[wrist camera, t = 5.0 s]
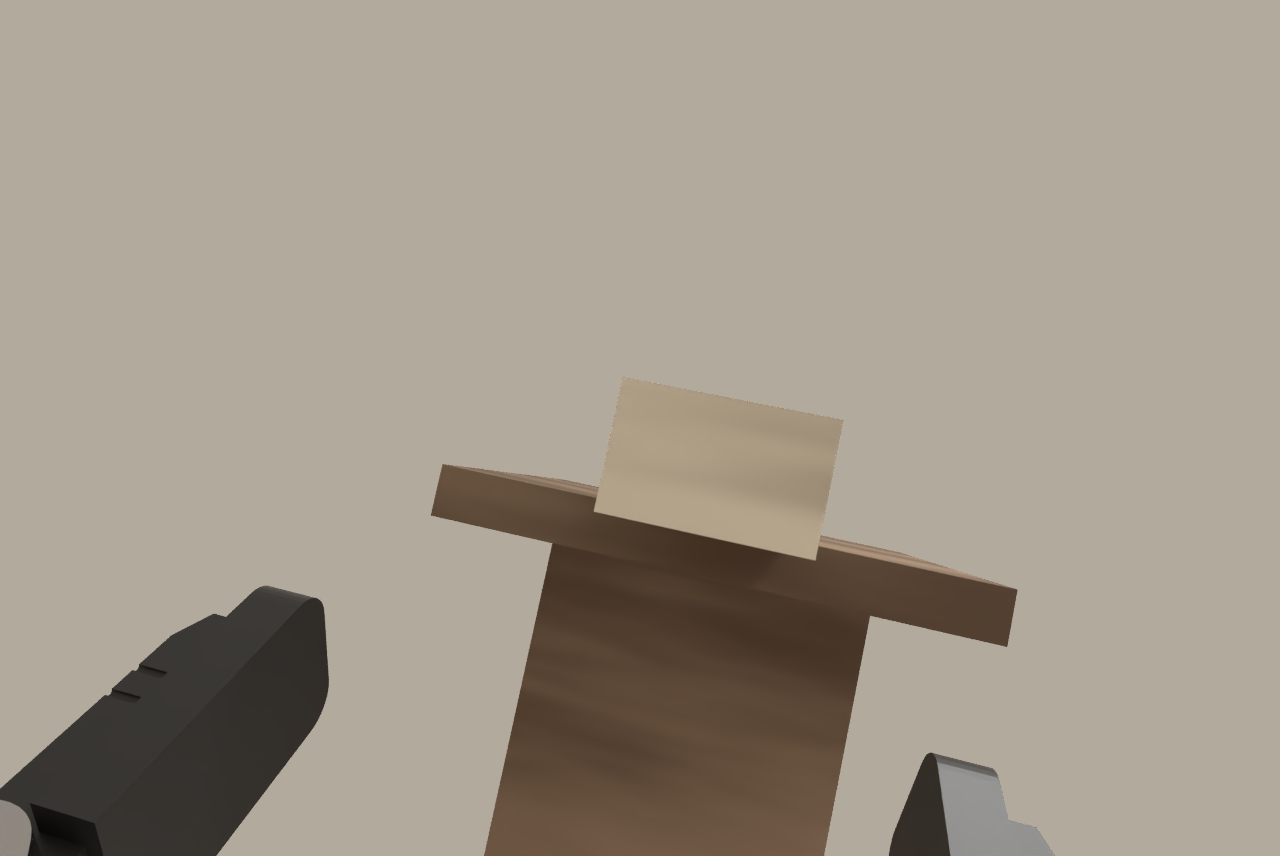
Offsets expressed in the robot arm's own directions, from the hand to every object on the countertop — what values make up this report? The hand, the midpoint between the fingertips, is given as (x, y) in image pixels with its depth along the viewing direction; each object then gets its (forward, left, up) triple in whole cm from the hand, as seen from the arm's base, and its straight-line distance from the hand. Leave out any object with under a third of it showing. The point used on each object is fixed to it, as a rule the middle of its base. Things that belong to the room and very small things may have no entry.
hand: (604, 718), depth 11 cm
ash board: (-8, -11, +2) cm, 14 cm away
